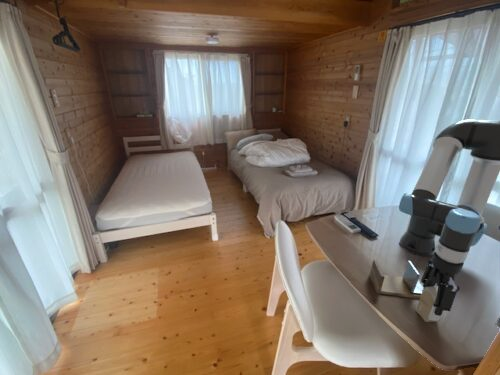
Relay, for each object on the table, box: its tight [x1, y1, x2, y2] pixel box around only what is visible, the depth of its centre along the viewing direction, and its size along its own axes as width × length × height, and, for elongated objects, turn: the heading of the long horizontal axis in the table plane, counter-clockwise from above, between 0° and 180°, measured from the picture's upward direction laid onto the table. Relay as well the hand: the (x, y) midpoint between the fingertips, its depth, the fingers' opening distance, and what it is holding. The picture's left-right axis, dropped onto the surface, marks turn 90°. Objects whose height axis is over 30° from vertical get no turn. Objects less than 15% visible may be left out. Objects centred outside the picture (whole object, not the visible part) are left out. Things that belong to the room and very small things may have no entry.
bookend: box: [402, 260, 423, 295], centre depth 94 cm, size 6×8×9 cm
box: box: [415, 285, 438, 323], centre depth 83 cm, size 5×4×11 cm
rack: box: [369, 259, 422, 300], centre depth 96 cm, size 16×10×8 cm, turn 80°
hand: (427, 311), depth 84 cm, fingers closed on box, 6 cm apart
